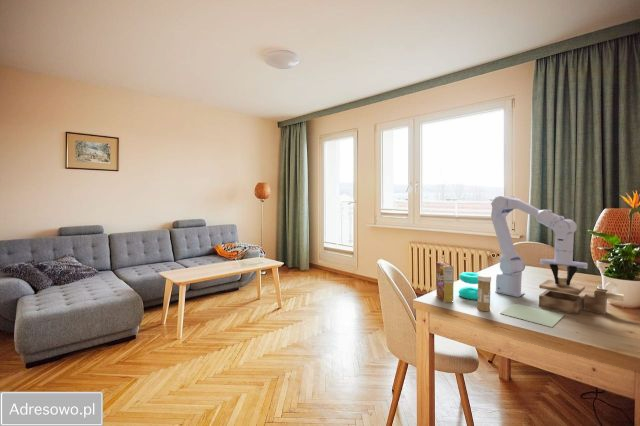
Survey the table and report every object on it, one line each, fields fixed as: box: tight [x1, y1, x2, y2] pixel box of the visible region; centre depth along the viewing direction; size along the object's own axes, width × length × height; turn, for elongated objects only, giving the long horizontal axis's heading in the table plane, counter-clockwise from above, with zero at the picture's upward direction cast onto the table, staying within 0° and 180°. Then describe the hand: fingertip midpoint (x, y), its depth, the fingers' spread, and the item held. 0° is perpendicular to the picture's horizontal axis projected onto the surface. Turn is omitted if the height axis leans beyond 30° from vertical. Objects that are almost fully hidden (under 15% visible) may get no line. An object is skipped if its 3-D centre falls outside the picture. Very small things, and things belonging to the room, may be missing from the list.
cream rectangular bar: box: [593, 289, 625, 302], centre depth 117 cm, size 8×2×2 cm, turn 41°
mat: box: [499, 303, 565, 328], centre depth 116 cm, size 16×16×1 cm
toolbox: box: [538, 289, 585, 316], centre depth 124 cm, size 12×12×4 cm
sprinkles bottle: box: [476, 273, 492, 312], centre depth 121 cm, size 5×5×14 cm
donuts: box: [458, 271, 480, 301], centre depth 137 cm, size 10×10×10 cm
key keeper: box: [583, 287, 608, 315], centre depth 120 cm, size 6×4×8 cm, turn 41°
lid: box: [538, 276, 586, 295], centre depth 124 cm, size 12×12×4 cm
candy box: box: [436, 261, 455, 303], centre depth 133 cm, size 9×4×15 cm, turn 179°
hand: (562, 284), depth 124 cm, fingers closed on lid, 3 cm apart
